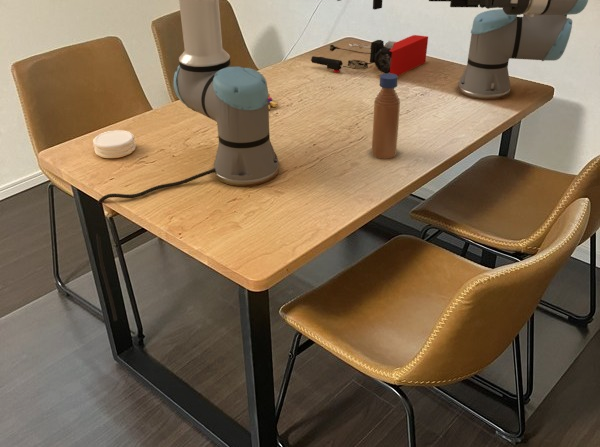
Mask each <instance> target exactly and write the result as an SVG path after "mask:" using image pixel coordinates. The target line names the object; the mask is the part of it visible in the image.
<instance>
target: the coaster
mask: <svg viewBox="0 0 600 447" xmlns="http://www.w3.org/2000/svg"><path fill="white" fill-rule="evenodd" d="M92 144H93V149H94V153H95V154H96V155H97V156H98V157H101V158H103V159H118V158H122V157H125V156H128V155H130V154H132V153H134V151H135V150H136V147H137V145H136V141H135V135H134V134H133V133H132V132H131V131H128V130H123V129H114V130H113V129H112V130H108V131H104V132H102V133H98V134H97V135H96V136H95V137H94V138H93V139H92Z"/></svg>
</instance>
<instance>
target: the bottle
mask: <svg viewBox="0 0 600 447" xmlns="http://www.w3.org/2000/svg"><path fill="white" fill-rule="evenodd" d="M373 101H374V102H373V119H372V137H371V139H372V140H371V155H372V156H373V157H374V158H378V159H381V160H382V159H385V160H387V159H388V160H389V159H393V158H395V157H396V156H397V148H398V138H399V136H398V135H399V124H400V113H401V112H400V109H401V100H400V97H399V95H398V93H397V92H396V89H395V88H391V89H388V88H382V87H381V89H380V90H379V92H378V94H377V95H376V97H375V98H374V100H373Z"/></svg>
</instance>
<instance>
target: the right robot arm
mask: <svg viewBox="0 0 600 447" xmlns="http://www.w3.org/2000/svg"><path fill="white" fill-rule="evenodd" d="M428 2H450V3H449V7H450V8H481V9H483V8H485V9H488V10H485V11H482V12H480V13H478V14H477V15H476V16H475V17H474V18H473V21H472V25H471V30H470V41H469V48H468V54H467V63H466V66H465V68H464V70H463V73H462V75H461V76H460V77H459V78H460V79H459V81H458V84H457V90H458V92H459V93H460V94H461V95H463V96H466V97H468V98H471V99H472V98H473V99H477V100H488V101H489V100H499V99H503V98H506V97H508V96H509V95H510V94H511V88H512V86H511V81H510V75H509V69H508V68H509V61H510V59H511V60H529V61H531V60H532V61H541V62H545V61H549V62H550V61H558V60H559V59H561V57H562V56H563V55H564V53H565V51H566V48H567V47H568V42H569V41H570V36H571V33H572V28H573V19H572V18H571V17H568V15H570V16H571V15H578V14H580V13H581V12H583V11H584V9H585V8H586V6H587V5H588V2H589V0H428ZM521 15H522V16H521Z"/></svg>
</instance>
